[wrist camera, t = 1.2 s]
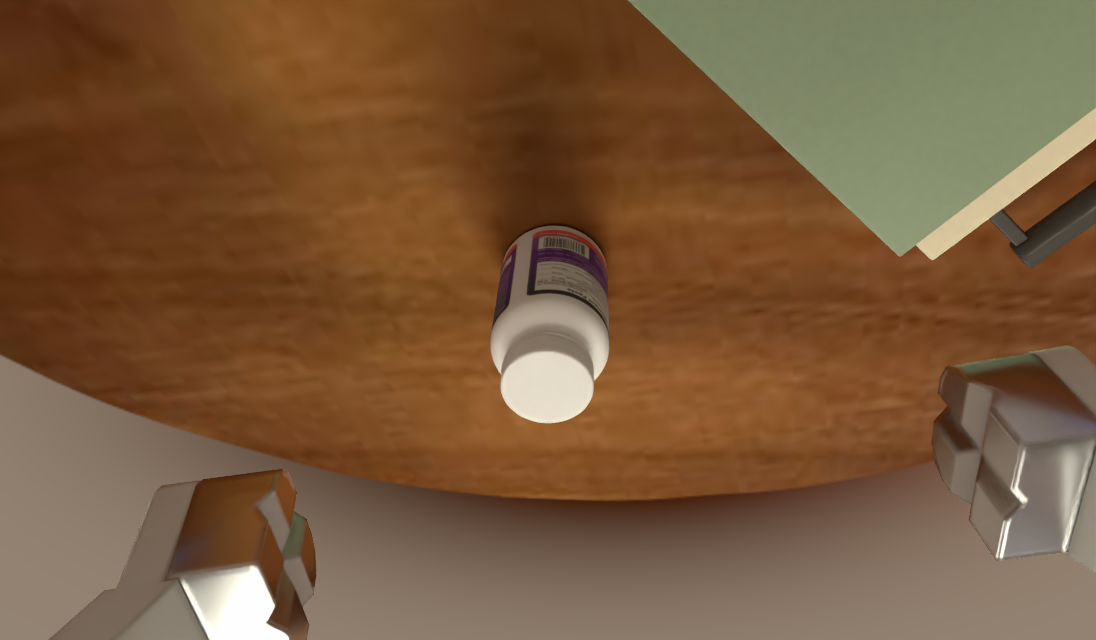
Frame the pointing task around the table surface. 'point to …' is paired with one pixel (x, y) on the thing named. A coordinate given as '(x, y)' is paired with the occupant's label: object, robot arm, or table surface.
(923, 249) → the drawer
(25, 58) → the table surface
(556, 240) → the pill bottle
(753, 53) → the cabinet
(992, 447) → the robot arm
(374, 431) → the table surface
